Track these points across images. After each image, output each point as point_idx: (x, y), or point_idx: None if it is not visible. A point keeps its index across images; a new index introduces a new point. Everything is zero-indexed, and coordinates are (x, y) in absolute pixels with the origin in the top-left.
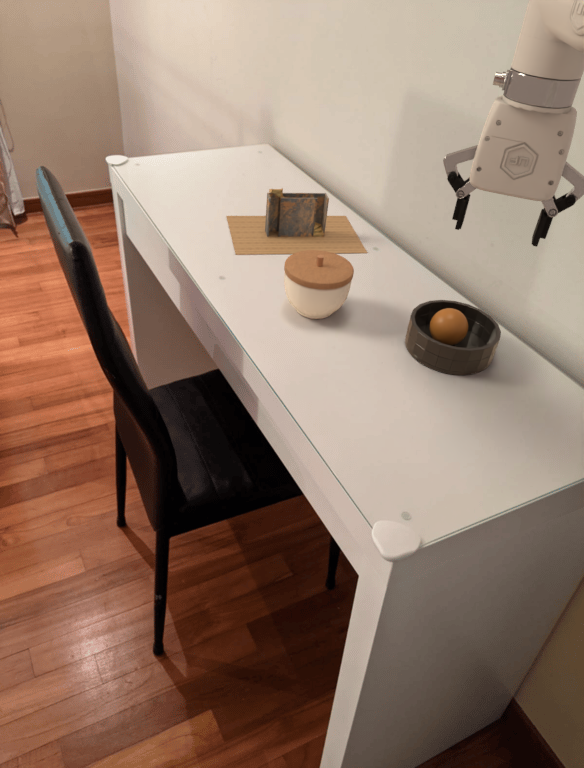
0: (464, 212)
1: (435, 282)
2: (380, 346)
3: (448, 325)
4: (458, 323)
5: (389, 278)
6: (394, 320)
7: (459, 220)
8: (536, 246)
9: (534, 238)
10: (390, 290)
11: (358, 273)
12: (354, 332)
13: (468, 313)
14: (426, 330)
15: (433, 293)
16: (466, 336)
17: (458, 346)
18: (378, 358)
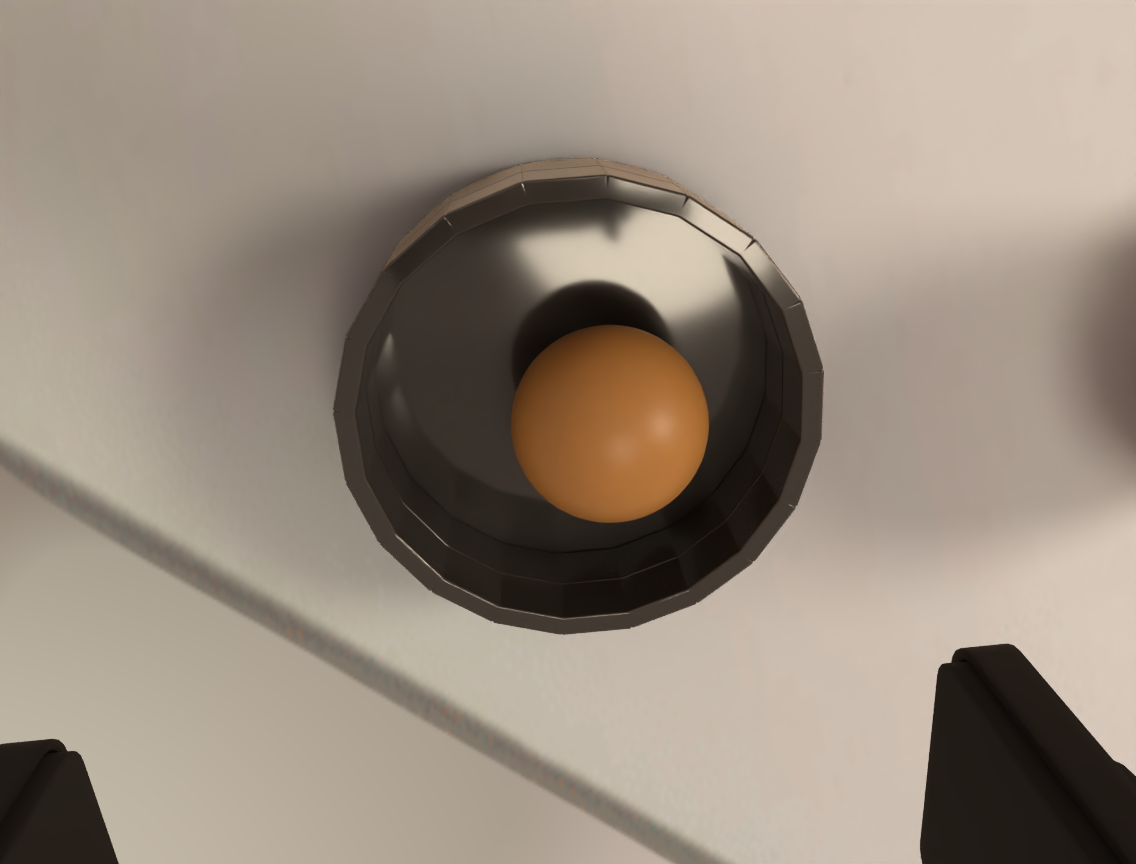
0: (1073, 821)
1: (738, 830)
2: (881, 213)
3: (614, 365)
4: (567, 398)
5: None
6: (856, 459)
7: (1043, 718)
8: (15, 744)
9: (25, 808)
10: (918, 674)
11: None
12: (1024, 260)
13: (543, 593)
14: None
15: (729, 749)
16: (514, 492)
17: None
18: (871, 105)
